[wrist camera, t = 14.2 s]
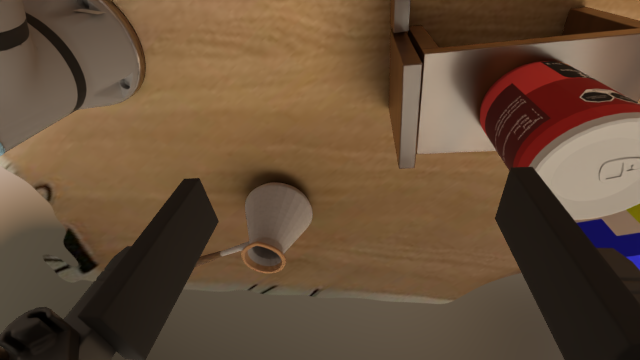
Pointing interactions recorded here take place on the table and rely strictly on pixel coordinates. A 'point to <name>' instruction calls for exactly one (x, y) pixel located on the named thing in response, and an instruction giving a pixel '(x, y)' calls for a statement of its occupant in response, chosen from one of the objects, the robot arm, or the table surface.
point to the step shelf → (491, 75)
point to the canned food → (567, 135)
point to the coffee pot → (270, 226)
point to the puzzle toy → (616, 232)
